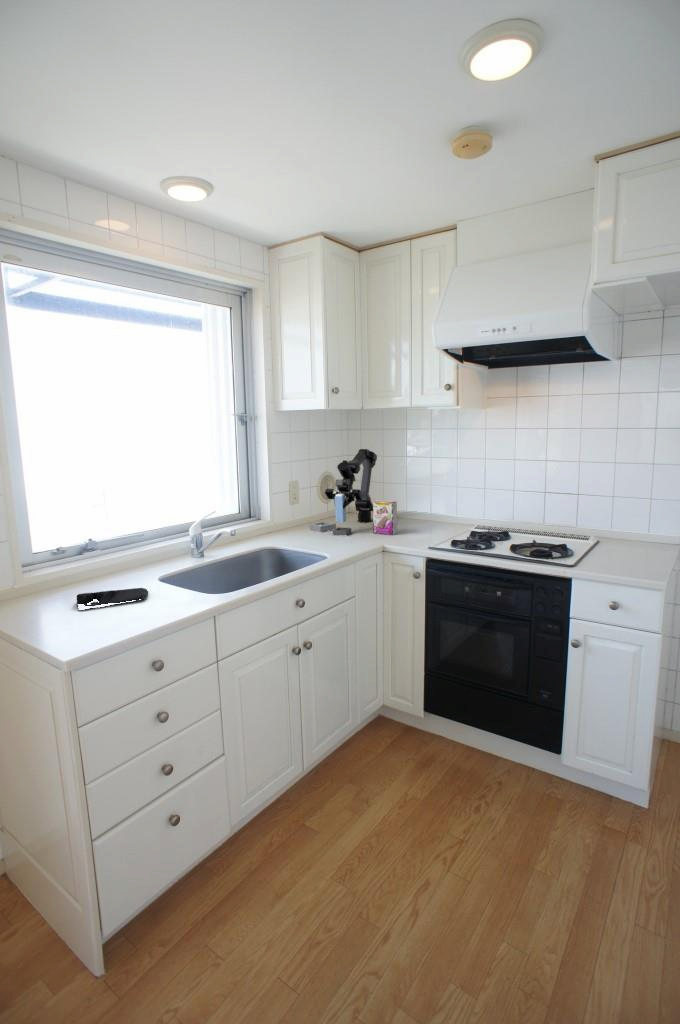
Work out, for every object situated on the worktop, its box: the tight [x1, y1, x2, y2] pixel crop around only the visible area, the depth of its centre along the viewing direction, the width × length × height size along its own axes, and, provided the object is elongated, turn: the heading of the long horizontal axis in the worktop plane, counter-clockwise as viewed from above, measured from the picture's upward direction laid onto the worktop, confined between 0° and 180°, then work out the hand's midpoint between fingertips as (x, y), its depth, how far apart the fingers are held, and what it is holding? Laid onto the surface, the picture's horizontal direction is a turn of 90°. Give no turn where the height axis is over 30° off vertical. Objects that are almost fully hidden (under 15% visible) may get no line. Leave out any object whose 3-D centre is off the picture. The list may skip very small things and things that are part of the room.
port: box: [308, 520, 337, 533], centre depth 280 cm, size 10×10×4 cm
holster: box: [332, 526, 352, 536], centre depth 268 cm, size 7×7×2 cm
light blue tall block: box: [334, 494, 347, 523], centre depth 266 cm, size 4×4×14 cm
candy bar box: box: [372, 499, 398, 536], centre depth 264 cm, size 11×5×16 cm, turn 58°
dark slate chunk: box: [76, 587, 149, 606], centre depth 178 cm, size 15×22×5 cm
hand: (339, 507), depth 265 cm, fingers closed on light blue tall block, 4 cm apart
